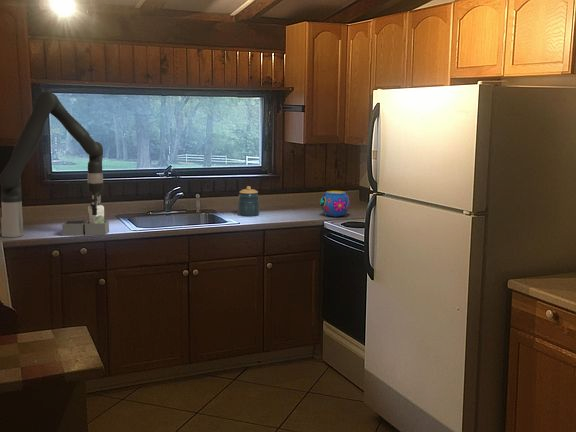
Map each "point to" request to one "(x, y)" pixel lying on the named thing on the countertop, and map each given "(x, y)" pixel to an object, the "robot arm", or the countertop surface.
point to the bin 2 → (97, 229)
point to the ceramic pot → (335, 203)
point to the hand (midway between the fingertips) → (96, 213)
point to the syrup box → (96, 218)
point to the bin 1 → (73, 228)
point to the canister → (248, 202)
